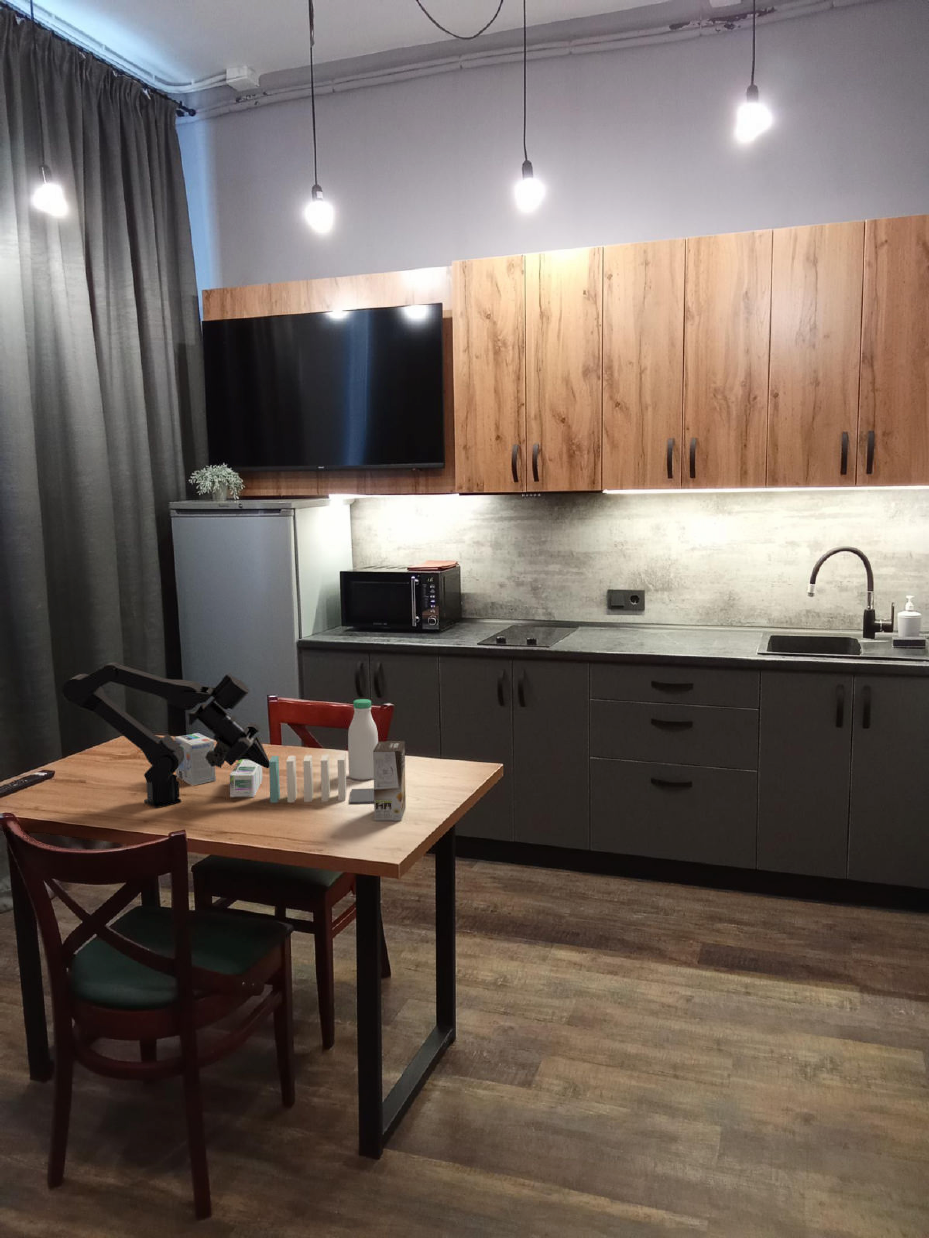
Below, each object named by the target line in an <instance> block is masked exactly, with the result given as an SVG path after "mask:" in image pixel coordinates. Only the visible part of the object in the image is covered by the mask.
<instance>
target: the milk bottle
mask: <svg viewBox="0 0 929 1238" xmlns="http://www.w3.org/2000/svg"><path fill="white" fill-rule="evenodd" d="M352 706H353V710H354V712H353V716H352V717H353V718H352V720H351V722H350V724H349V727H348V735H347V736H348V737H347V745H348V747H347V748H348V749H347V751H348V752H347V753H348V754H347V755H348V775H349V778H351V779H353V780H355V781H356V780H357V781H367V780H372V779H373V780H374V761H373V750H374V748H375V747H376V745H377V743H378V742H379V736H378V735H379V734H378V729H377V724H376V722H375V720H374V719H373V716H372V712H371V710H372V700H370V699H366V698H360V699H355V700H354V701H353V704H352Z"/></svg>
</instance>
